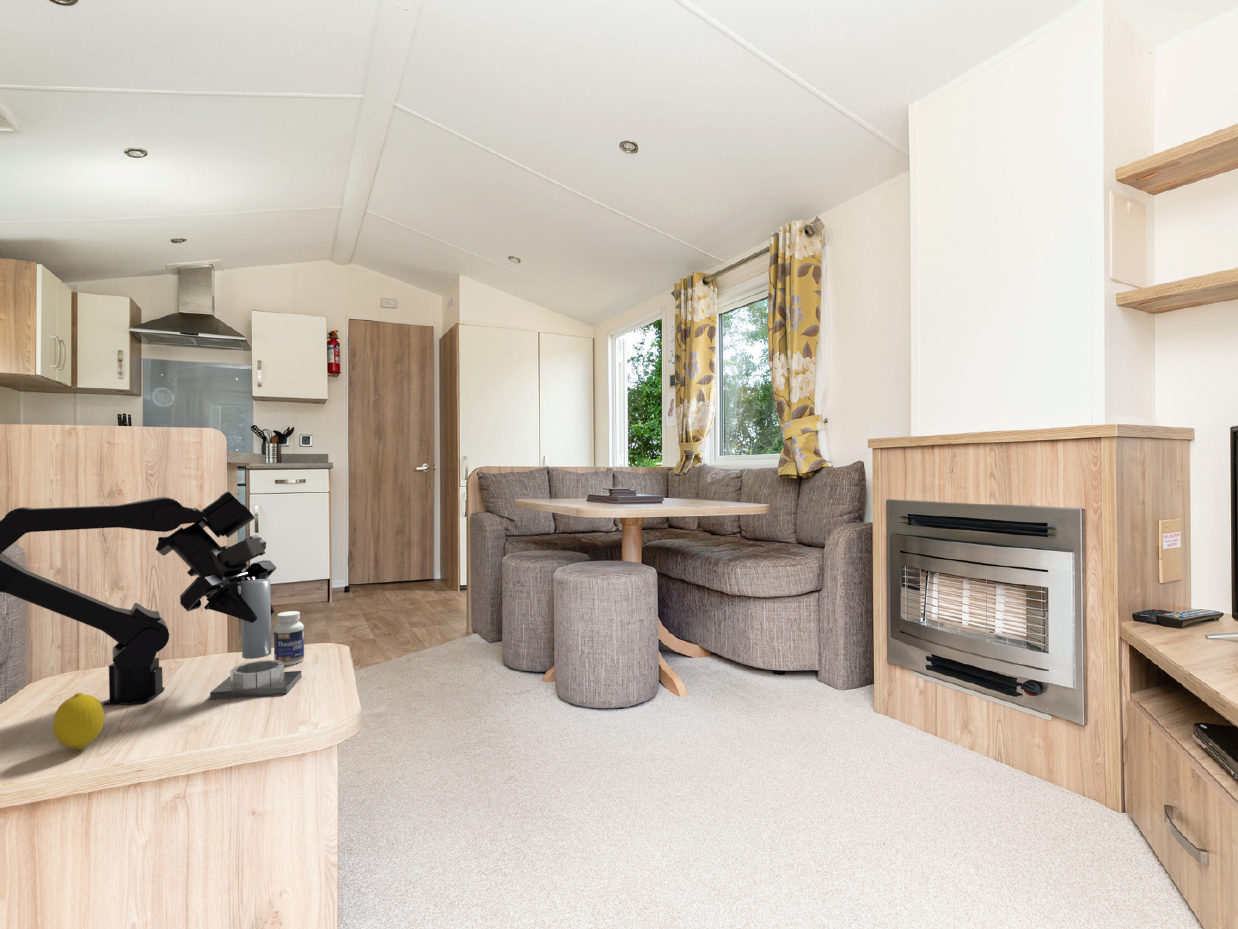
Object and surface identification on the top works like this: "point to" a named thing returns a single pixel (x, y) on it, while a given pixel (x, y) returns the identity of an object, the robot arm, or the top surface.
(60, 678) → the top surface
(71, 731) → the lemon
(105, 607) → the robot arm
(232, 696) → the duct plate
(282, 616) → the pill bottle
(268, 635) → the grey rounded cylinder
